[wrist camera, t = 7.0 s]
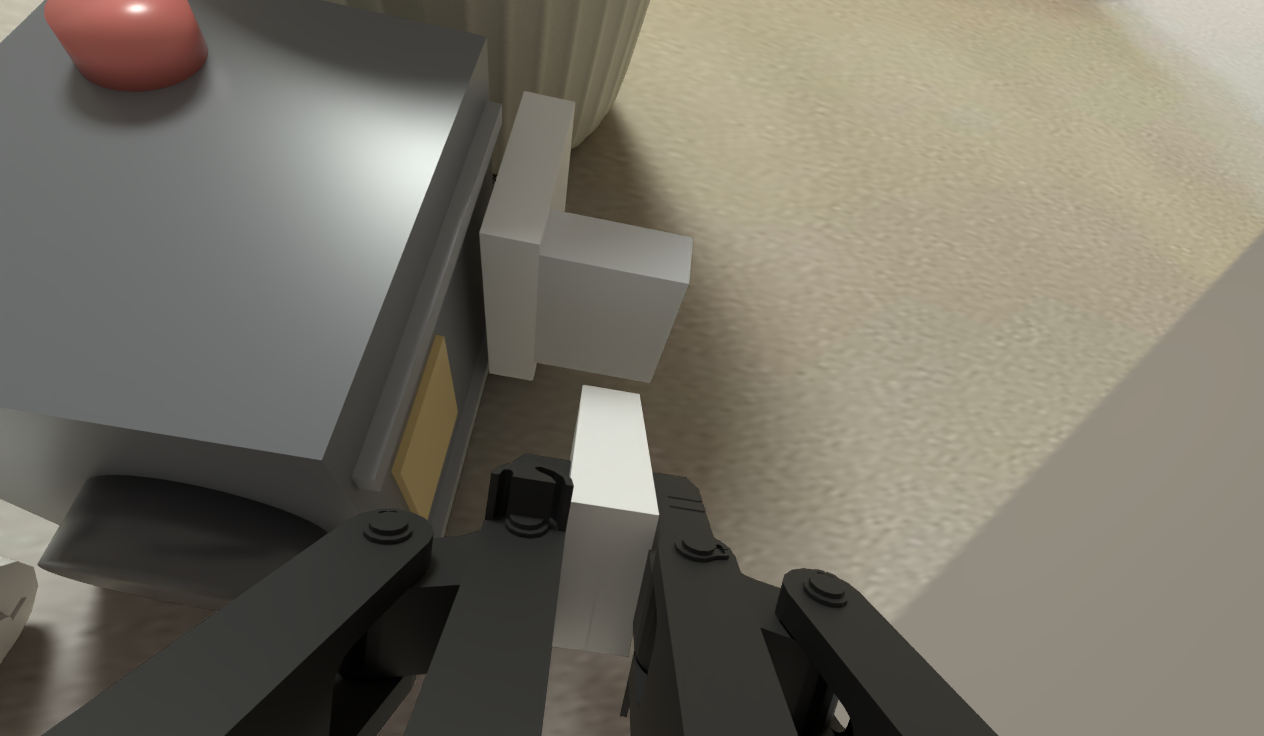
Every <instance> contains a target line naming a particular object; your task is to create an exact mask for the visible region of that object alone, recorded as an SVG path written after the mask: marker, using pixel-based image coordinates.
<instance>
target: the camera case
mask: <svg viewBox="0 0 1264 736" xmlns="http://www.w3.org/2000/svg"><path fill="white" fill-rule="evenodd" d="M501 125H502V104H499V103H495V102H490V101H489V77H488V53H487V36H482V35H478V34H473V33H469V32H464V31H459V30H455V29H450V28H446V27H441V26H437V25H432V24H428V23H423V22H418V21H414V20H409V19H405V18H400V17H396V16H391V15H387V14H382V13H377V12H373V11H368V10H364V9H359V8H355V7H350V6H346V5H341V4H336V3H332V2H327V1H323V0H44V1H43V2H42V3H41V4H40V5H39V6H38V7H37V8H36V9H35V10H34V11H33V12H32V13H31V14H30V15H29V16H28V17H27V18H26V19H25V20H24V21H23V22H22V23H21V24H20V25H19V26H18V27H17V28H16V29H15V30H13V31H12V32H11V33H10V34H9V35H8V36H7V37H6V38H5V39H4V40H3V41H2V42H1V43H0V499H2V500H4V501H6V502H9V503H11V504H13V505H15V506H18V507H20V508H22V509H24V510H27V511H29V512H31V513H33V514H36V515H38V516H40V517H42V518H44V519H47V520H49V521H51V522H53V523H56V524H58V525H60V526H59V528H58V530H57V531H56V533H55V535H54V537H53V538H52V540H51V542H50V543H49V545H48V547H47V549H46V550H45V552H44V554H43V555H42V557H41V559H40V561H39V562H38V564H37V565H38V566H39V567H41V568H42V569H44V570H47V571H49V572H51V573H54V574H57V575H60V576H63V577H66V578H69V579H73V580H76V581H80V582H83V583H87V584H91V585H94V586H98V587H102V588H106V589H111V590H115V591H119V592H124V593H128V594H133V595H137V596H142V597H147V598H152V599H157V600H162V601H167V602H172V603H177V604H183V605H189V606H194V607H200V608H206V609H212V610H220V609H222V608H223V607H224V606H226V605H227V604H229V603H230V602H231V601H233V600H234V599H236V598H237V597H239V596H240V595H241V594H243V593H244V592H246V591H247V590H248V589H250V588H251V587H253V586H254V585H256V584H257V583H258V582H260V581H261V580H263V579H264V578H265V577H267V576H268V575H270V574H271V573H273V572H274V571H275V570H277V569H278V568H280V567H281V566H282V565H284V564H285V563H287V562H288V561H290V560H291V559H292V558H294V557H295V556H297V555H298V554H300V553H301V552H302V551H304V550H305V549H307V548H308V547H309V546H311V545H312V544H314V543H315V542H317V541H318V540H319V539H321V538H322V537H324V536H325V535H326V534H328V533H329V532H331V531H332V530H334V529H335V528H336V527H338V526H339V525H341V524H342V523H343V522H345V521H346V520H348V519H350V518H352V517H354V516H356V515H358V514H360V513H363V512H368V511H373V510H377V509H384V508H387V509H389V508H392V509H400V510H403V511H409V512H412V513H415V514H417V515H420V516H422V517H424V518H425V519H426V520H427V521H428V522H429V523H430V524H431V525H432V528H433V533H434V535H433V538H444V535H445V531H446V527H447V524H448V520H449V516H450V512H451V509H452V505H453V501H454V497H455V494H456V490H457V486H458V483H459V479H460V475H461V471H462V468H463V464H464V460H465V456H466V453H467V449H468V445H469V441H470V438H471V434H472V430H473V426H474V423H475V419H476V415H477V412H478V408H479V404H480V400H481V397H482V393H483V389H484V385H485V382H486V378H487V374H488V370H489V360H488V346H487V332H486V318H485V305H484V291H483V277H482V264H481V250H480V236H479V232H480V229H481V226H482V223H483V219H484V216H485V213H486V210H487V207H488V204H489V200H490V197H491V194H492V191H493V174H492V152H493V149H494V146H495V143H496V140H497V137H498V134H499V131H500V128H501Z"/></svg>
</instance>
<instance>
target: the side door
mask: <svg viewBox="0 0 1264 736" xmlns="http://www.w3.org/2000/svg"><path fill="white" fill-rule="evenodd" d="M574 110H575V102H573V101H569V100H564V99H559V98H555V97H550V96H545V95H541V94H536V93H531V92H527V91H524V93H523V96H522V99H521V102H520V106H519V109H518V112H517V115H516V118H515V121H514V125H513V128H512V131H511V134H510V137H509V140H508V144H507V147H506V150H505V153H504V156H503V159H502V163H501V166H500V169H499V172H498V175H497V178H496V182H495V185H494V188H493V191H492V194H491V197H490V200H489V204H488V207H487V210H486V213H485V216H484V219H483V223H482V226H481V229H480V232H479V236H480V250H481V264H482V277H483V291H484V305H485V318H486V332H487V346H488V360H489V373H491V374H497V375H502V376H508V377H514V378H519V379H525V380H530V381H533V378H534V374H535V369H536V365H537V363H540V364H546V365H551V366H557V367H563V368H568V369H574V370H579V371H585V372H590V373H596V374H601V375H607V376H612V377H618V378H623V379H629V380H635V381H640V382H646V383H651V380H652V378H653V375H654V373H655V370H656V368H657V365H658V362H659V360H660V357H661V355H662V352H663V350H664V347H665V344H666V342H667V339H668V337H669V334H670V332H671V329H672V326H673V324H674V321H675V319H676V316H677V314H678V311H679V309H680V306H681V303H682V301H683V298H684V296H685V293H686V291H687V288H688V285H689V279H690V268H691V256H692V245H693V237H688V236H683V235H678V234H673V233H668V232H663V231H658V230H653V229H648V228H643V227H638V226H633V225H628V224H623V223H618V222H613V221H608V220H603V219H598V218H593V217H588V216H583V215H578V214H573V213H568V212H565V204H566V194H567V183H568V173H569V162H570V152H571V141H572V131H573V120H574Z"/></svg>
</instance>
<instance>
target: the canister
mask: <svg viewBox="0 0 1264 736" xmlns="http://www.w3.org/2000/svg"><path fill="white" fill-rule="evenodd" d="M323 1H327V2H332V3H336V4H341V5H346V6H350V7H355V8H359V9H364V10H368V11H373V12H377V13H382V14H387V15H391V16H396V17H400V18H405V19H409V20H414V21H418V22H423V23H428V24H432V25H437V26H441V27H446V28H450V29H455V30H459V31H464V32H469V33H473V34H478V35H482V36H487V53H488V77H489V101H490V102H495V103H499V104H502V125H501V128H500V131H499V134H498V137H497V140H496V143H495V146H494V149H493V152H492V174H496V175H498V172H499V169H500V166H501V163H502V159H503V156H504V153H505V150H506V147H507V144H508V140H509V137H510V134H511V131H512V128H513V125H514V121H515V118H516V115H517V112H518V109H519V106H520V102H521V99H522V96H523V93H524V91H527V92H531V93H536V94H541V95H545V96H550V97H555V98H559V99H564V100H569V101H573V102H575V110H574V120H573V131H572V141H571V149H573V148H575V147H577V146H578V145H579V144H581V143H582V142H583V140H584V139H585V138H586V137H587V136H588V135H590V134H591V133H592V132H593V131H594V130H595V129H596V128H597V127H598V126H599V124H600V123H601V121H602V119H603V118H604V116H605V115H606V114H607V113H608V111H609V110H610V108H611V107H612V105H613V103H614V101H615V99H616V97H617V94H618V92H619V89H620V87H621V84H622V82H623V79H624V77H625V74H626V71H627V69H628V66H629V63H630V60H631V57H632V54H633V51H634V48H635V45H636V42H637V39H638V36H639V33H640V30H641V27H642V24H643V20H644V17H645V14H646V11H647V8H648V5H649V2H650V0H323Z"/></svg>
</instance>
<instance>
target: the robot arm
mask: <svg viewBox="0 0 1264 736" xmlns="http://www.w3.org/2000/svg"><path fill="white" fill-rule="evenodd" d="M433 535H434V533H433V528H432V525H431V524H430V523H429V522H428V521H427V520H426V519H425V518H424V517H422V516H420V515H417V514H415V513H412V512H409V511H403V510H400V509H392V508H389V509H387V508H384V509H377V510H373V511H368V512H363V513H360V514H358V515H356V516H354V517H352V518H350V519H348V520H346V521H345V522H343V523H342V524H341V525H339V526H338V527H336V528H335V529H334V530H332V531H331V532H329V533H328V534H326V535H325V536H324V537H322V538H321V539H319V540H318V541H317V542H315V543H314V544H312V545H311V546H309V547H308V548H307V549H305V550H304V551H302V552H301V553H300V554H298V555H297V556H295V557H294V558H292V559H291V560H290V561H288V562H287V563H285V564H284V565H282V566H281V567H280V568H278V569H277V570H275V571H274V572H273V573H271V574H270V575H268V576H267V577H265V578H264V579H263V580H261V581H260V582H258V583H257V584H256V585H254V586H253V587H251V588H250V589H248V590H247V591H246V592H244V593H243V594H241V595H240V596H239V597H237V598H236V599H234V600H233V601H231V602H230V603H229V604H227V605H226V606H224V607H223V608H222V609H220V610H219V611H217V612H216V613H214V614H213V615H212V616H210V617H209V618H207V619H206V620H204V621H203V622H202V623H200V624H199V625H197V626H196V627H195V628H193V629H192V630H190V631H189V632H187V633H186V634H185V635H183V636H182V637H180V638H179V639H178V640H176V641H175V642H173V643H172V644H170V645H169V646H168V647H166V648H165V649H163V650H162V651H161V652H159V653H158V654H156V655H155V656H153V657H152V658H151V659H149V660H148V661H146V662H145V663H144V664H142V665H141V666H139V667H138V668H136V669H135V670H134V671H132V672H131V673H129V674H128V675H127V676H125V677H124V678H122V679H121V680H119V681H118V682H117V683H115V684H114V685H112V686H111V687H109V688H108V689H107V690H105V691H104V692H102V693H101V694H100V695H98V696H97V697H95V698H94V699H92V700H91V701H90V702H88V703H87V704H85V705H84V706H83V707H81V708H80V709H78V710H77V711H75V712H74V713H73V714H71V715H70V716H68V717H67V718H66V719H64V720H63V721H61V722H60V723H58V724H57V725H56V726H54V727H53V728H51V729H50V730H49V731H47V732H46V733H44V734H43V735H41V736H376V735H377V734H378V733H379V731H380V730H381V729H382V727H383V726H384V725H385V723H386V722H387V721H388V719H389V718H390V717H391V715H392V714H393V713H394V711H395V710H396V709H397V708H398V706H399V705H400V704H401V702H402V701H403V700H404V698H405V697H406V696H407V694H408V693H409V692H410V690H411V688H412V686H413V684H414V682H415V679H416V675H419V674H427V675H426V677H425V680H424V683H423V685H422V688H421V691H420V693H419V696H418V699H417V701H416V704H415V707H414V709H413V712H412V715H411V717H410V720H409V723H408V725H407V728H406V731H405V733H404V736H541V733H542V725H543V717H544V708H545V700H546V692H547V683H548V675H549V667H550V658H551V650H552V647H559V648H566V649H573V650H581V651H588V652H596V653H603V654H611V655H618V656H625V657H628V655H629V650H630V646H631V641H632V636H633V634H634V655H633V659H632V664H631V668H630V673H629V677H628V682H627V686H626V691H625V695H624V700H623V704H622V709H621V714H620V716H624V717H627V714H628V710H629V707H630V730H631V736H998V735H997V734H996V733H995V732H994V731H993V730H992V729H991V728H990V727H989V726H988V725H987V724H986V723H985V721H983V719H982V718H980V716H979V715H978V714H977V713H976V712H975V711H974V710H973V709H972V708H971V707H970V706H969V705H968V704H967V703H966V702H965V701H964V700H963V699H962V698H961V697H960V696H959V695H958V694H957V693H956V691H955V690H954V689H953V688H951V686H950V685H949V684H948V683H947V682H946V681H945V680H944V679H943V678H942V677H941V676H940V675H939V674H938V673H937V672H936V671H935V670H934V669H933V668H932V667H931V666H930V665H929V664H928V663H927V662H926V660H925V659H924V658H923V657H922V656H921V655H920V654H919V653H918V652H917V651H916V650H915V649H914V648H913V647H912V646H911V645H910V644H909V643H908V642H907V641H906V640H905V639H904V638H903V637H902V636H901V635H900V634H899V633H898V632H897V630H896V629H895V628H894V627H893V626H892V625H891V624H890V623H889V622H888V621H887V620H886V619H885V618H884V617H883V616H882V615H881V614H880V613H879V612H878V611H877V610H876V609H875V608H874V607H873V606H872V605H871V604H870V603H869V602H868V601H867V599H866V598H865V597H864V596H863V595H862V594H861V593H860V592H859V591H857V590H856V589H855V588H854V587H852V586H851V585H850V584H849V583H847V582H845V581H843V580H841V579H839V578H838V577H837V576H835V575H834V574H831V573H828V572H826V573H825V571H822V570H818V569H815V570H813V569H805V568H802V569H795V570H791V571H789V572H788V573H787V574H785V575H784V578H783V582H782V586H781V588H778V587H775V586H772V585H769V584H766V583H763V582H760V581H758V580H755V579H753V578H750V577H748V576H745V575H744V574H742V573H741V572H740V569H739V566H738V563H737V560H736V557H735V556H734V554H733V553H732V551H731V550H730V548H729V547H727V546H726V545H725V544H723V543H722V542H721V541H719V540H717V539H715V538H714V537H713V534H712V531H711V528H710V524H709V521H708V518H707V515H706V514H705V508H704V505H703V504H702V499H701V495H700V492H699V489H698V488H697V487H696V486H695V485H693V484H692V483H691V482H690V481H689V480H688V479H687V478H686V477H680V476H674V475H668V474H661V473H655V472H652V468H651V462H650V456H649V450H648V443H647V437H646V431H645V425H644V419H643V412H642V406H641V400H640V394H636V393H630V392H624V391H618V390H612V389H606V388H601V387H595V386H589V385H583V386H582V392H581V398H580V403H579V409H578V415H577V420H576V426H575V432H574V437H573V443H572V449H571V454H570V460H563V459H556V458H550V457H544V456H538V455H531V454H524V455H522V456H521V457H519V458H518V459H516V460H514V461H513V462H512V463H507V464H505V465H502V466H499V467H497V468H496V469H495V470H494V471H493V472H492V473H491V480H490V487H489V494H488V501H487V508H486V515H485V520H484V523H483V526H482V528H481V530H479V531H476V532H474V533H471V534H467V535H463V536H457V537H444V538H433ZM838 700H840V702H841V703H842V705H843V706H844V708H845V709H846V711H847V713H848V715H849V717H850V720H849V723H848V726H847V727H846V729H845V728H844V727H843V726H842V725H841V724H840V723H839V721H838V720H837V718H836V717H835V715H834V712H835V709H836V706H837V703H838Z"/></svg>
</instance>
